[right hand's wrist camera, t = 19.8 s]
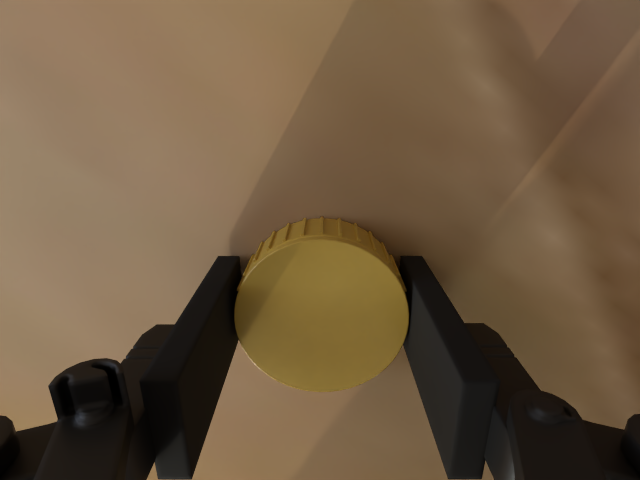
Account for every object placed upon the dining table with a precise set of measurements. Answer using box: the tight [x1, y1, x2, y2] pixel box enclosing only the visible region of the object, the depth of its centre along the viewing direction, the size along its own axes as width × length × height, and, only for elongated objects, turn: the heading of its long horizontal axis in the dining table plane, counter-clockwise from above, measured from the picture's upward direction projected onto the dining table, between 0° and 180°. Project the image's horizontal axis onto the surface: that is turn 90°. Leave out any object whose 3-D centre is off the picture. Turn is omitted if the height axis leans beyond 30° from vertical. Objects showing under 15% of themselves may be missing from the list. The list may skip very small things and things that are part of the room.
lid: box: [234, 216, 409, 392], centre depth 14 cm, size 6×6×2 cm
